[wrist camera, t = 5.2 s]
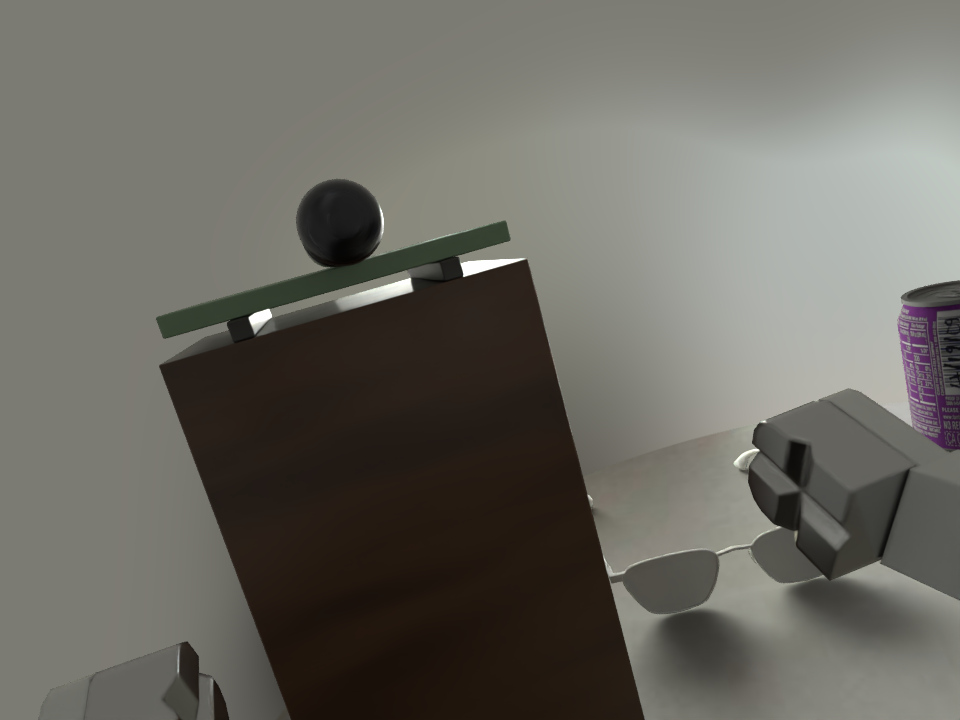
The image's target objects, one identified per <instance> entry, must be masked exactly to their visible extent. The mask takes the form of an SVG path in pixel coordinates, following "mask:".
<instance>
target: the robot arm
mask: <svg viewBox="0 0 960 720" xmlns="http://www.w3.org/2000/svg"><path fill="white" fill-rule="evenodd" d="M752 444H753V445H754V446H755V447H756V448H757V449H758V450H759V452H758V453H757V455H756V456H755V458H754V459H753V461H752V462H751V464H750V465H749V476H748V483H749V486H750V489H751V492H752V495H753V498H754V500H755V502H756V503H757V505H758V506H759V508H760V509H761V511H762V512H763V513H764V514H765V515H766V516H767V517H768V519H769V520H770V521H771V522H772V523H773V524H775V525H777V526H780V527H783V528H786V529H788V530H791V531H794V538H795V546H796V547H797V548H798V549H799V550H800V551H801V552H802V553H803V554H804V555H805V556H806V557H807V559H808V560H809V561H810V562H811V563H812V564H813V565H814V566H815V567H816V568H817V569H818V570H819V571H820V572H821V573H822V574H823V575H824V576H825V577H826V578H827V579H828V580H829V581H831V580H833V579H835V578H838V577H840V576H843V575H845V574H848V573H850V572H853V571H855V570H857V569H860V568H862V567H865V566H867V565H870V564H872V563H875V562H877V561H879V560H881V564H883V565H885V566H887V567H889V568H891V569H893V570H896V571H898V572H900V573H902V574H904V575H906V576H908V577H911V578H913V579H915V580H917V581H919V582H921V583H923V584H926V585H928V586H930V587H932V588H934V589H936V590H939V591H941V592H943V593H945V594H947V595H949V596H951V597H954V598H956V599H958V600H960V450H955V451H952V452H950V453H949V452H947V451H946V450H944V449H943V448H941V447H940V446H939V445H937V444H936V443H934V442H933V441H931V440H930V439H928V438H927V437H925V436H924V435H923V434H921V433H920V432H918V431H917V430H915V429H914V428H912V427H911V426H909V425H908V424H906V423H905V422H904V421H902V420H901V419H899V418H898V417H896V416H895V415H893V414H892V413H890V412H889V411H887V410H886V409H885V408H883V407H882V406H880V405H879V404H877V403H876V402H874V401H873V400H871V399H870V398H869V397H867V396H866V395H864V394H863V393H861V392H859V391H856V390H852V389H846V390H843V391H840V392H838V393H835V394H832V395H830V396H827V397H825V398H822V399H819V400H817V401H812V402H810V403H807V404H805V405H802V406H800V407H797V408H795V409H792V410H789V411H787V412H784V413H782V414H779V415H777V416H774V417H772V418H769V419H767V420H765V421H762V422H760V423H759V424H758V425H757V427H756V428H755V429H754V433H753V440H752ZM38 720H229V716H228V712H227V707H226V703H225V700H224V698H223V695H222V693H221V690H220V688H219V686H218V685H217V683H216V681H215V680H214V678H213V677H212V676H210V675H206V674H202V673H199V656H198V655H197V653H196V652H195V651H194V649H193V648H192V647H191V646H190V644H189V643H188V642H183V643H179V644H176V645H173V646H171V647H168V648H165V649H162V650H159V651H157V652H154V653H151V654H148V655H145V656H143V657H139V658H136V659H134V660H131V661H128V662H126V663H122V664H120V665H117V666H114V667H111V668H108V669H105V670H103V671H100V672H97V673H95V674H92V675H89V676H86V677H84V678H81V679H78V680H76V681H73V682H70V683H67V684H65V685H62V686H59V687H56V688H54V689H51V690H50V691H49V693H48V695H47V697H46V698H45V700H44V702H43V704H42V706H41V709H40V715H39V719H38Z"/></svg>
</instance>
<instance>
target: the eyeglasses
mask: <svg viewBox="0 0 960 720" xmlns="http://www.w3.org/2000/svg"><path fill="white" fill-rule="evenodd" d="M757 452H759V450H758V449H754V450H750V451H747V452H745V453H743V454H742V455H741V456H740V457H739V458H738V459H737V460H736V461H735V462H734V465H735V466H736V467H738V468H740V469H745V468H746V467H747V463H748V458H749V457H750V456H752V455H753V454H755V453H757ZM588 499H589V503H590V506H591V508H592V506H593V500H592V498H591V497H590V496H589V495H588ZM749 548H750V549H749ZM740 549H749V554H750V556H751V558H752V559H753V561H754V562H755V563H758V564H759V566H760V567H761V568H762V569H763V571H764V572H765V573H766V574H768V575H769V576H770V577H771V578H772V579H774V580H775V581H777V582H779V583H794V582H800V581H806V580H810V579H813V578H816V577H819V576H821V575H823V574H822V573H821V572H820V571H819V570H818V569H817V568H816V567H815V566H814V565H813V564H812V563H811V562H810V561H809V560H808V559H807V557H806V556H805V555H804V554H803V553H802V552H801V551H800V550H799V549H798V548H797V547H796V546H795V538H794V531H791V530H788V529H786V528H783V527H777V528H774V529H772V530H769V531H767V532H764V533H762V534H760V535H759V536H757V537H756V538H755V539H754V540H753V542H752V544H747V545H736V546H731V547H728V548H726V549H724V550H721V551H719V552H716V553H715V552H714V551H712V550H710V549H693V550H686V551H680V552H675V553H670V554H666V555H662V556H658V557H654V558H650V559H646V560H644V561H641V562H638V563H635V564H633V565H631V566H629V567H627V569H626V570H625V572H624V571H623V572H618V573H613V572H612V569H611V567H610V565H608V564H607V562H606V560H605V558H604V556H603V558H604V562H605V564H606V569H607V573H608V576H609V579H610V581H611V584H612V583H616V582H621V581H623V584H624V586H625V588H626V589H627V591H628V592H629V593H630V594H631V595H632V596H633V598H634V599H635V600H636V601H637V602H638V603H639V604H640V605H641V606H642V607H644V608H645V609H646V610H647V611H649V612H651V613H654V614H671V613H677V612H681V611H685V610H688V609H691V608H693V607H696V606H699V605H701V604H703V603H704V602H706V601H707V600H708V599H709V597H710V595H711V593H712V591H713V589H714V587H715V584H716V581H717V577H718V572H719V558H718V556H721V555H723V554H726V553H729V552H732V551H734V550H740Z"/></svg>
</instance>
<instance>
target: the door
mask: <svg viewBox="0 0 960 720" xmlns="http://www.w3.org/2000/svg"><path fill="white" fill-rule="evenodd" d="M296 224H297V231H298V235H299V237H300V240H301V241H302V244H303V246H304V248H305V250H306V252H307V254H308V256H309V257H310V258H311V259H312V260H313V261H314V262H315V263H317V264H318V265H321V266H323V267H331V268H327V269H324V270H321V271H317V272H313V273H309V274H306V275H302V276H299V277H295V278H291V279H288V280H284V281H280V282H277V283H274V284H270V285H266V286H263V287H259V288H255V289H252V290H248V291H244V292H241V293H237V294H234V295H230V296H226V297H223V298H219V299H216V300H212V301H208V302H205V303H201V304H198V305H195V306H191V307H188V308H185V309H181V310H178V311H175V312H172V313H168V314H165V315H162V316H159V317H157V318H156V320H157V323H158V325H159V328H160V331H161V333H162V336H163V338H169V337H173V336H176V335H180V334H183V333H187V332H190V331H194V330H197V329H201V328H204V327H208V326H211V325H215V324H218V323H222V322H226V321H229V320H233V319H236V318H240V317H243V316H247V315H250V314H254V313H257V312H261V311H264V310H268V309H271V308H275V307H278V306H282V305H285V304H289V303H292V302H296V301H299V300H303V299H307V298H310V297H313V296H317V295H321V294H324V293H327V292H331V291H335V290H338V289H342V288H345V287H349V286H352V285H356V284H359V283H363V282H366V281H370V280H373V279H377V278H380V277H384V276H387V275H391V274H394V273H398V272H402V271H405V270H409V269H412V268H416V267H419V266H423V265H426V264H430V263H433V262H437V261H440V260H444V259H447V258H451V257H454V256H458V255H462V254H465V253H469V252H472V251H475V250H479V249H483V248H486V247H489V246H493V245H497V244H500V243H504V242H507V241H510V235H509V231H508V227H507V223H506V221H501V222H497V223H493V224H489V225H486V226H481V227H477V228H473V229H470V230H465V231H462V232H458V233H454V234H451V235H447V236H443V237H439V238H436V239H432V240H429V241H425V242H421V243H418V244H414V245H410V246H407V247H403V248H400V249H396V250H393V251H389V252H385V253H382V254H378V255H374V256H371V257H369V256H370V255H371V254H372V253H373V252H374V251H375V250H376V248H377V247H378V245H379V243H380V241H381V238H382V234H383V229H384V228H383V227H384V220H383V214H382V211H381V208H380V206H379V203H378V202H377V200H376V199H375V197H374V196H373V195H372V194H371V193H370V192H369V191H368V190H367V189H366V188H364V187H363V186H362V185H360V184H357V183H355V182H353V181H349V180H345V179H334V180H327V181H325V182H322V183H319V184H318V185H316V186H315V187H313V188H312V189H311V190H309V191H308V192H307V193H306V195H305V196H304V198H303V199H302V201H301V203H300V205H299V208H298V211H297V217H296Z"/></svg>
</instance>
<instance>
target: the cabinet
mask: <svg viewBox="0 0 960 720" xmlns="http://www.w3.org/2000/svg"><path fill="white" fill-rule="evenodd" d="M407 271H408V275H409V277H410V279H407V280H403V281H400V282H396V283H393V284H389V285H385V286H382V287H379V288H375V289H371V290H368V291H364V292H361V293H357V294H354V295H351V296H347V297H343V298H340V299H337V300H333V301H330V302H326V303H323V304H319V305H316V306H312V307H309V308H305V309H302V310H298V311H295V312H291V313H288V314H284V315H281V316H278V317H274V318H271V317H272V316H271V313H270V310H269V309H268V310H264V311H261V312H257V313H254V314H250V315H247V316H243V317H240V318H236V319H233V320H230V321H229V322H227V326H228V329H229V330H228V331H225V332H221V333H218V334H214V335H211V336H207V337H205V338H203V339H201V340H200V341H198V342H196V343H195V344H193V345H191V346H190V347H188V348H187V349H185V350H183V351H182V352H180V353H179V354H177V355H175V356H174V357H172V358H171V359H169V360H167V361H166V362H164V363H163V364H161V365H160V366H159V367H160V370H161V373H162V375H163V378H164V381H165V383H166V386H167V389H168V391H169V394H170V397H171V399H172V402H173V405H174V408H175V410H176V413H177V415H178V418H179V421H180V424H181V426H182V429H183V432H184V434H185V437H186V440H187V442H188V445H189V448H190V450H191V453H192V456H193V458H194V461H195V464H196V467H197V469H198V472H199V475H200V477H201V480H202V483H203V485H204V488H205V491H206V493H207V496H208V499H209V501H210V504H211V507H212V509H213V512H214V515H215V517H216V520H217V523H218V525H219V528H220V531H221V533H222V536H223V539H224V542H225V544H226V547H227V549H228V552H229V555H230V558H231V560H232V563H233V566H234V568H235V571H236V574H237V576H238V579H239V582H240V584H241V587H242V590H243V592H244V595H245V598H246V600H247V603H248V606H249V609H250V611H251V614H252V616H253V619H254V622H255V625H256V627H257V630H258V633H259V635H260V638H261V641H262V643H263V646H264V649H265V651H266V654H267V657H268V659H269V662H270V665H271V667H272V670H273V673H274V676H275V678H276V681H277V684H278V686H279V689H280V692H281V694H282V697H283V700H284V702H285V705H286V708H287V710H288V713H289V716H290V718H291V720H645V719H644V715H643V711H642V707H641V703H640V699H639V695H638V691H637V687H636V684H635V680H634V676H633V672H632V668H631V664H630V660H629V656H628V652H627V648H626V644H625V640H624V636H623V632H622V628H621V625H620V621H619V617H618V613H617V609H616V605H615V601H614V597H613V593H612V589H611V585H610V581H609V577H608V573H607V569H606V565H605V562H604V558H603V554H602V550H601V546H600V542H599V538H598V534H597V530H596V526H595V522H594V518H593V514H592V510H591V506H590V503H589V499H588V495H587V491H586V487H585V483H584V479H583V475H582V471H581V467H580V463H579V459H578V455H577V451H576V448H575V444H574V440H573V436H572V432H571V428H570V424H569V420H568V416H567V412H566V408H565V404H564V400H563V396H562V393H561V388H560V384H559V381H558V377H557V373H556V369H555V365H554V361H553V357H552V353H551V349H550V345H549V341H548V337H547V333H546V330H545V326H544V322H543V318H542V314H541V310H540V306H539V302H538V298H537V294H536V290H535V286H534V282H533V278H532V274H531V271H530V267H529V263H528V259H506V260H488V261H487V260H486V261H469V262H466V263H462V264H461V262H460V258H459V257H451V258H447V259H444V260H440V261H437V262H433V263H430V264H426V265H423V266H419V267H416V268H412V269H409V270H407Z"/></svg>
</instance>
